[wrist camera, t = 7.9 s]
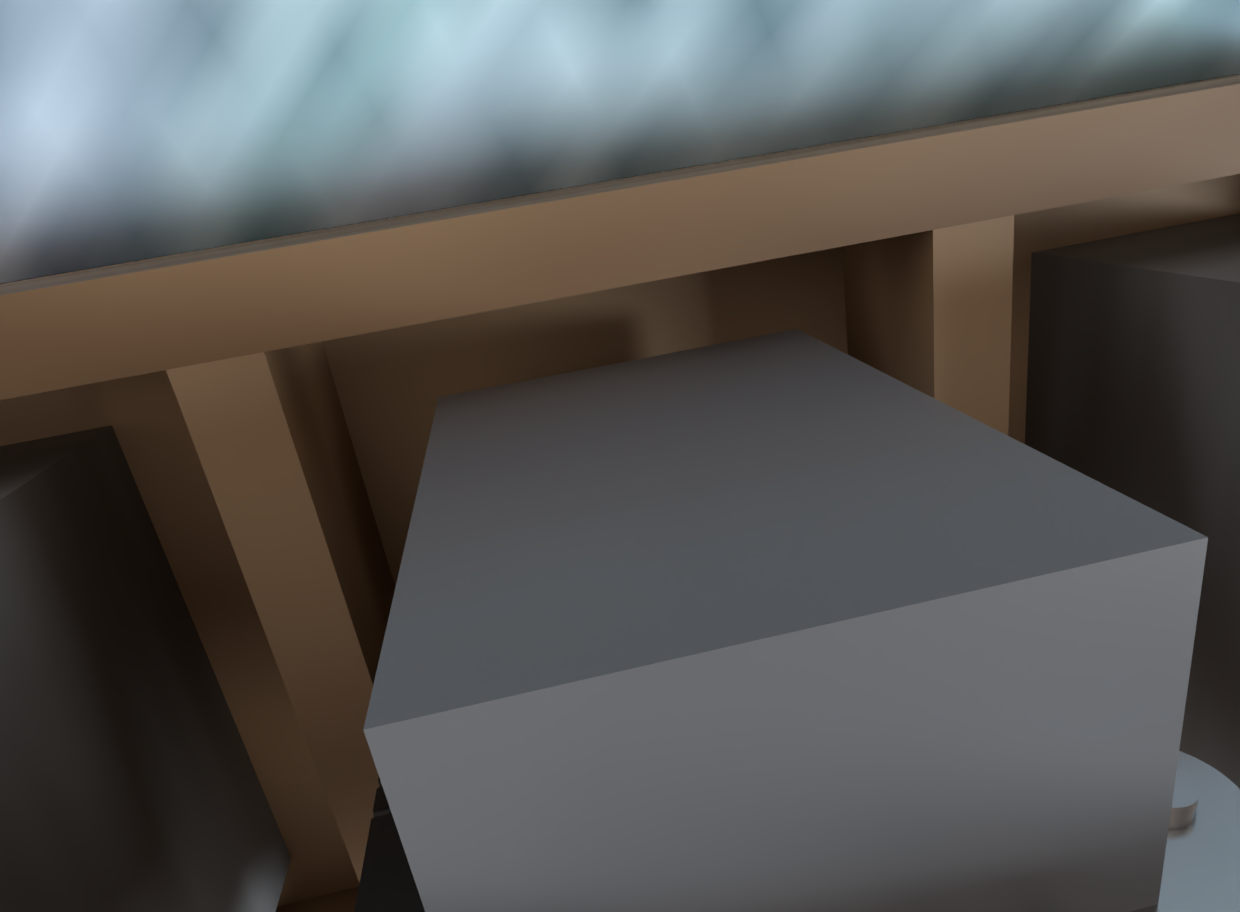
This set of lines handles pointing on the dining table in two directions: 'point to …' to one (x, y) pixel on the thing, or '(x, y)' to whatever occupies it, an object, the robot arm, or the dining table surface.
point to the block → (775, 651)
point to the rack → (518, 351)
